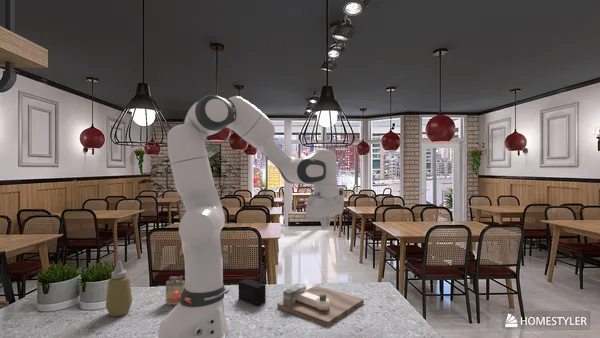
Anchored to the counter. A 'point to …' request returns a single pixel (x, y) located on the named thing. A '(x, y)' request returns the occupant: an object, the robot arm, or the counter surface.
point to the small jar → (174, 289)
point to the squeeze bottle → (118, 292)
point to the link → (313, 300)
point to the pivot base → (326, 315)
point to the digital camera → (252, 292)
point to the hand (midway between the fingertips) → (325, 228)
